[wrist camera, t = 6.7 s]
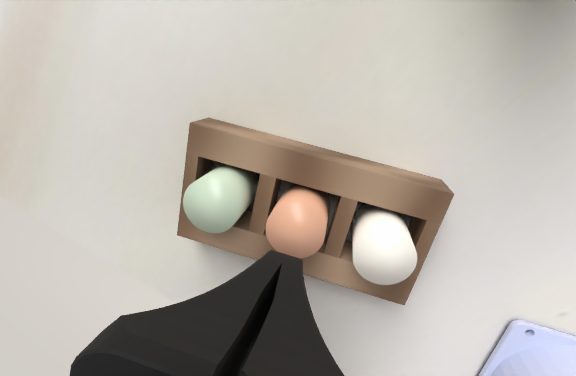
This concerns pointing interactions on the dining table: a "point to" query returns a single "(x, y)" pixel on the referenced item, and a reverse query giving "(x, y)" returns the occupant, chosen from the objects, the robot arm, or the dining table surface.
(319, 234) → the salmon pink cylinder
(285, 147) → the wooden three-slot tray
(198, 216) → the button sage
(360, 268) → the white rounded cylinder
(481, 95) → the dining table surface
